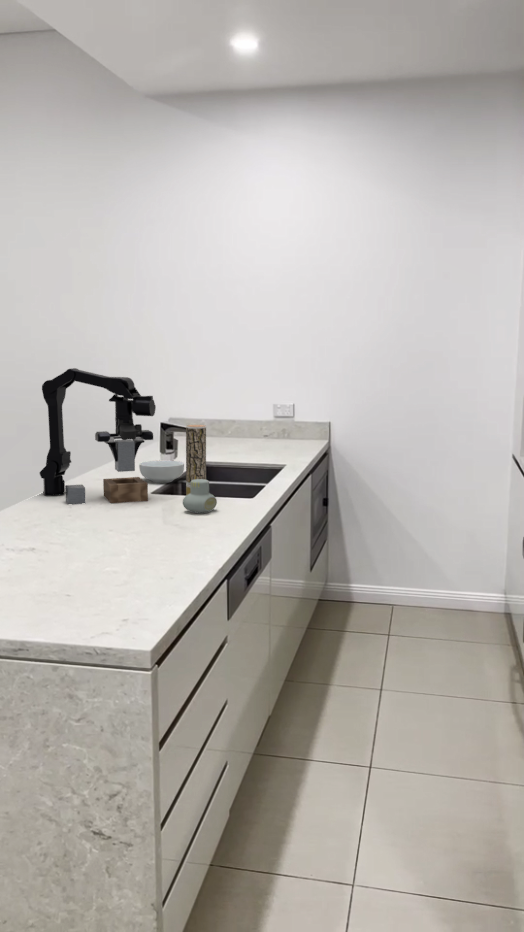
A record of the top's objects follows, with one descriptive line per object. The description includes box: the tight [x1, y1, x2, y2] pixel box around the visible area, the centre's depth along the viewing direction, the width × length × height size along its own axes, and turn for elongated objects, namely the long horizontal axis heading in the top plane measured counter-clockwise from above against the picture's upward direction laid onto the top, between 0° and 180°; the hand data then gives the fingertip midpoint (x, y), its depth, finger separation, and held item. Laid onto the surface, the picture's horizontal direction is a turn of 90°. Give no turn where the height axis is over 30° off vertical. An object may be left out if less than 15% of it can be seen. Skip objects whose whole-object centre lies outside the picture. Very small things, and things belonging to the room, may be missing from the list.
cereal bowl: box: [138, 459, 185, 484], centre depth 307 cm, size 17×17×7 cm
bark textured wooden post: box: [185, 424, 207, 496], centre depth 276 cm, size 7×7×25 cm
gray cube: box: [64, 484, 86, 505], centre depth 268 cm, size 6×6×6 cm
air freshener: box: [182, 479, 218, 514], centre depth 257 cm, size 11×8×10 cm
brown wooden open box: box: [102, 476, 149, 504], centre depth 275 cm, size 12×12×6 cm
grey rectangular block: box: [114, 439, 136, 473], centre depth 273 cm, size 6×6×10 cm
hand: (124, 461), depth 273 cm, fingers closed on grey rectangular block, 6 cm apart
